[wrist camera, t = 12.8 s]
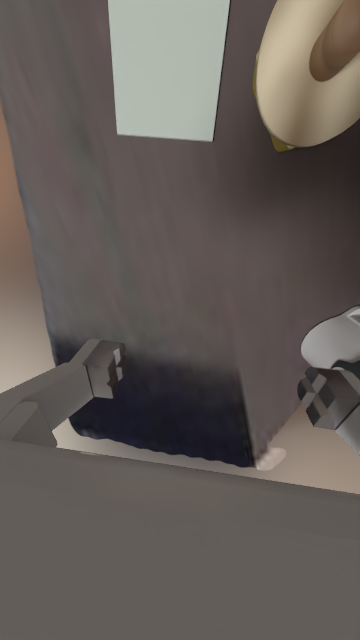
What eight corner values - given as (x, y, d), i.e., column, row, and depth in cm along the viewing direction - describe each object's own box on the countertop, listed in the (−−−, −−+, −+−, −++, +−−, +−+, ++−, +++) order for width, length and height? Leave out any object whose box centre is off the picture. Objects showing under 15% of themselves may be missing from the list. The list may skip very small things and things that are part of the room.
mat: (229, 0, 22) (230, -4, 21) (212, 142, 28) (212, 141, 27) (109, -5, 22) (107, -9, 22) (118, 135, 29) (117, 134, 28)
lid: (443, -61, 14) (561, -191, 10) (355, 150, 21) (400, 135, 16) (278, -62, 15) (313, -183, 10) (242, 144, 21) (253, 127, 16)
